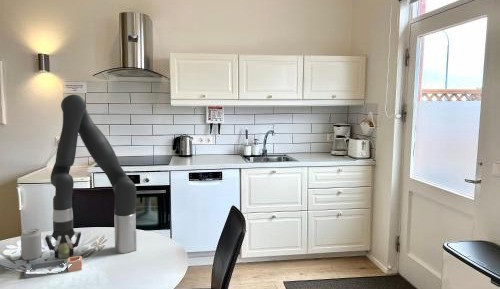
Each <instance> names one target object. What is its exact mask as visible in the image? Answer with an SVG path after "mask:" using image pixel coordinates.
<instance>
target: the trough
mask: <svg viewBox="0 0 500 289" xmlns="http://www.w3.org/2000/svg"><path fill="white" fill-rule="evenodd" d="M67 262H68V259H60V260H58V259H54V260H46V261H40V262H32V263H27V266H26V269H27V270H30V269H31V268H32V269H31V270H38V269H42V268H51V267H50V266H52V267H57V266H56V265H59V266H61V265H60V264H62V263H64V264H65V263H67ZM26 269H25V270H26ZM67 272H68V268H67V269H65V270H64V271H61V272H58V273H47V274H26V273H25V272H24V279H29V278H36V277H42V276H50V275H56V274H65V273H67Z"/></svg>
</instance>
